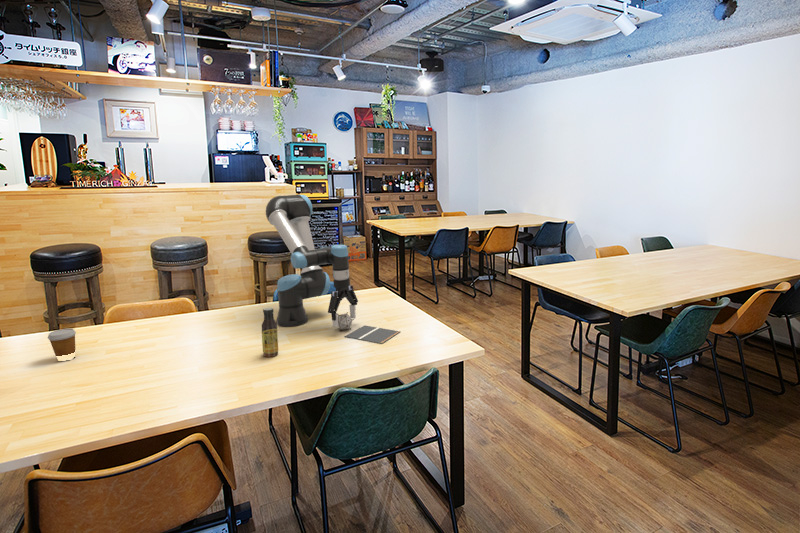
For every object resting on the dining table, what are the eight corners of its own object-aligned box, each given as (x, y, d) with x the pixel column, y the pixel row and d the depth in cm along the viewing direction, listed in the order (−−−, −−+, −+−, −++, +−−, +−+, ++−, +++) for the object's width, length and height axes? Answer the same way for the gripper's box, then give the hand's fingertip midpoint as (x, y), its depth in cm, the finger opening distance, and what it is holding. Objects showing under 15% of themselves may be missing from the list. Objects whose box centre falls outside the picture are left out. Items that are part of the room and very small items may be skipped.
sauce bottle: (264, 359, 184) (260, 312, 180) (261, 353, 190) (257, 308, 186) (281, 355, 187) (276, 309, 183) (277, 350, 193) (273, 305, 189)
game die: (348, 337, 215) (352, 325, 208) (330, 332, 215) (334, 319, 208) (353, 323, 222) (357, 311, 215) (336, 318, 221) (340, 305, 214)
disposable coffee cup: (85, 355, 194) (80, 329, 192) (63, 364, 185) (57, 336, 183) (69, 353, 197) (64, 327, 195) (47, 362, 188) (41, 334, 186)
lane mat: (344, 337, 206) (344, 336, 206) (364, 326, 219) (364, 325, 219) (382, 344, 196) (382, 343, 196) (400, 332, 210) (400, 331, 209)
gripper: (331, 285, 198) (334, 331, 202) (363, 273, 219) (366, 315, 223) (317, 283, 202) (321, 329, 206) (350, 272, 223) (353, 314, 227)
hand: (344, 322), depth 215 cm, fingers open, 13 cm apart
